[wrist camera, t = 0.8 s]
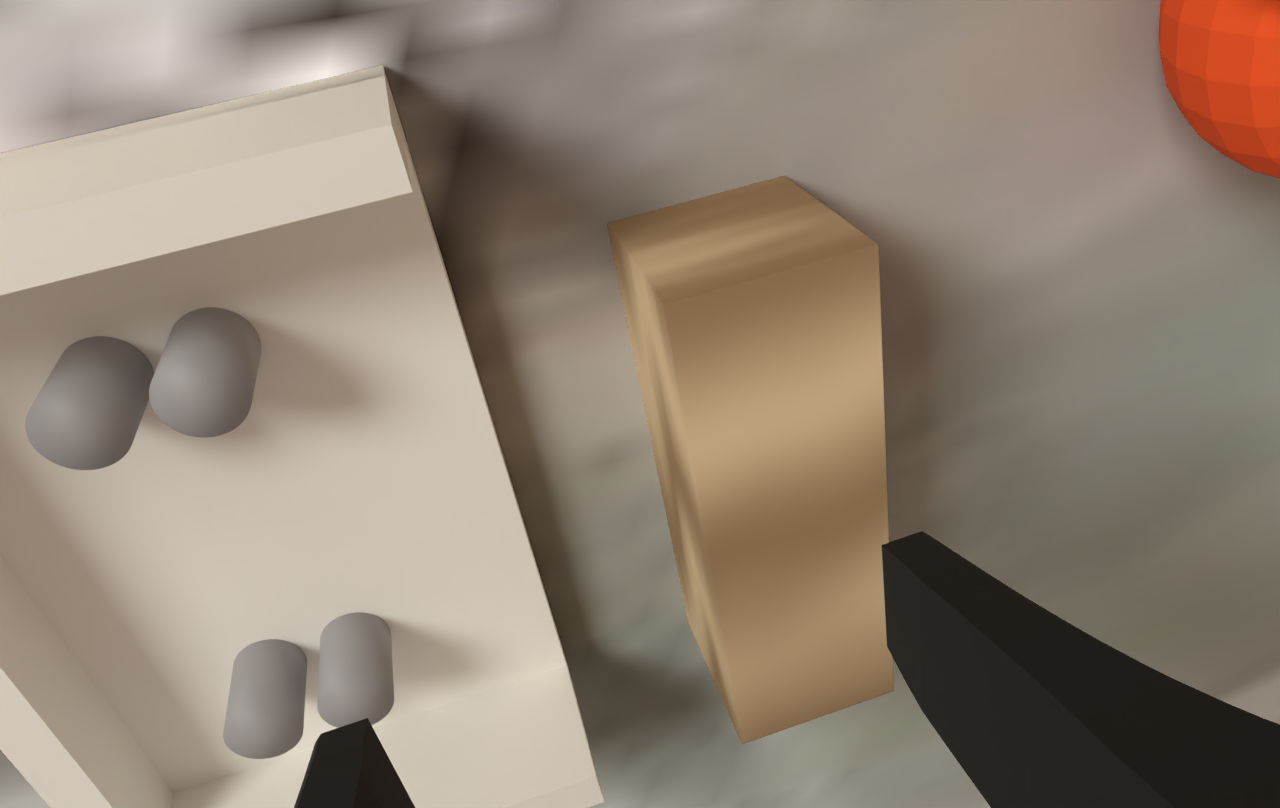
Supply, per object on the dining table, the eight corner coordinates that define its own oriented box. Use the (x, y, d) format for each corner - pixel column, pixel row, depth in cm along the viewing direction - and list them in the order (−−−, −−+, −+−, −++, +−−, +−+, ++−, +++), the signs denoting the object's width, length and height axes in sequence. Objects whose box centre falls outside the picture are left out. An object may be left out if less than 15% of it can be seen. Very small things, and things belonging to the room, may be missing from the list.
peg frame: (567, 662, 25) (604, 801, 22) (157, 796, 24) (121, 970, 20) (383, 65, 17) (391, 124, 13) (-275, 217, 15) (-479, 332, 12)
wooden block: (817, 573, 27) (894, 690, 23) (686, 617, 26) (742, 744, 22) (780, 172, 20) (878, 244, 16) (604, 219, 20) (663, 304, 16)
